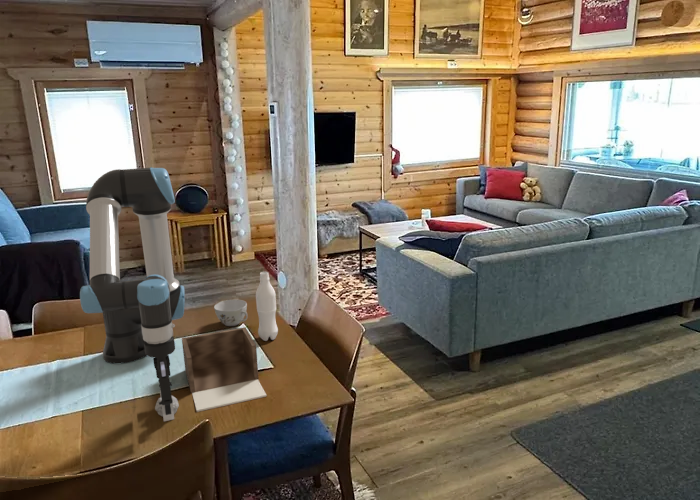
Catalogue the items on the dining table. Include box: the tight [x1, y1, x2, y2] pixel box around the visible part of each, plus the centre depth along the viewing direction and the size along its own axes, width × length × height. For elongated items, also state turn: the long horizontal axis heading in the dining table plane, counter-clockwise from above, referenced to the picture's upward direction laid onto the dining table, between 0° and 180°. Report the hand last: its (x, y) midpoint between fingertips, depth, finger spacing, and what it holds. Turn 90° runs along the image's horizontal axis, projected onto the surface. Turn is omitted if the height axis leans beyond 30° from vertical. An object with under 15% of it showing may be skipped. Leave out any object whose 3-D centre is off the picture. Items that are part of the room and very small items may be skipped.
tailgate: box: [191, 379, 268, 413], centre depth 153 cm, size 19×2×11 cm
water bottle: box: [255, 271, 279, 342], centre depth 192 cm, size 7×7×25 cm
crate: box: [181, 327, 259, 394], centre depth 164 cm, size 20×15×12 cm
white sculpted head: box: [154, 395, 180, 417], centre depth 144 cm, size 6×7×7 cm
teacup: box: [213, 298, 248, 327], centre depth 207 cm, size 15×12×8 cm
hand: (168, 416), depth 145 cm, fingers closed on white sculpted head, 7 cm apart
